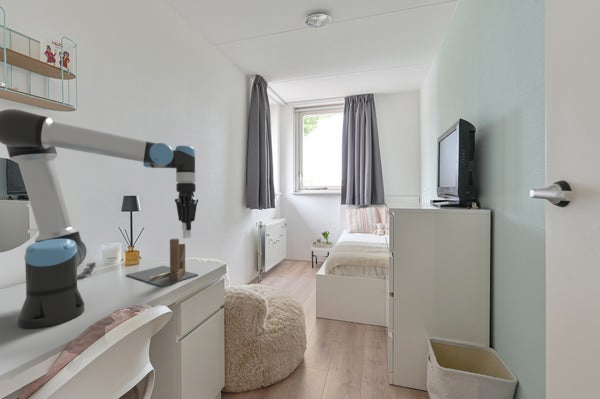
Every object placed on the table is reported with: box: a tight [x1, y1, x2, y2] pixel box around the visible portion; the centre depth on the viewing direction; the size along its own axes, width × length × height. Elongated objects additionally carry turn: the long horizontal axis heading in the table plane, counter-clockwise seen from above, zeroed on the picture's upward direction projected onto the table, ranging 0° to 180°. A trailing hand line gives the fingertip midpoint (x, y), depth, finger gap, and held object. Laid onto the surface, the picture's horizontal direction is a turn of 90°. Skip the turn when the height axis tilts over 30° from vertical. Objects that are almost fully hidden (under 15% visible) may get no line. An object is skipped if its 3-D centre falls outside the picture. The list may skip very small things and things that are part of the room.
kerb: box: [150, 272, 170, 281], centre depth 123 cm, size 16×1×2 cm, turn 148°
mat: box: [125, 265, 199, 288], centre depth 125 cm, size 18×28×1 cm, turn 58°
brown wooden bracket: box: [169, 238, 186, 281], centre depth 120 cm, size 4×11×18 cm, turn 6°
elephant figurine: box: [77, 261, 97, 280], centre depth 124 cm, size 10×6×9 cm
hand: (186, 237), depth 115 cm, fingers closed
